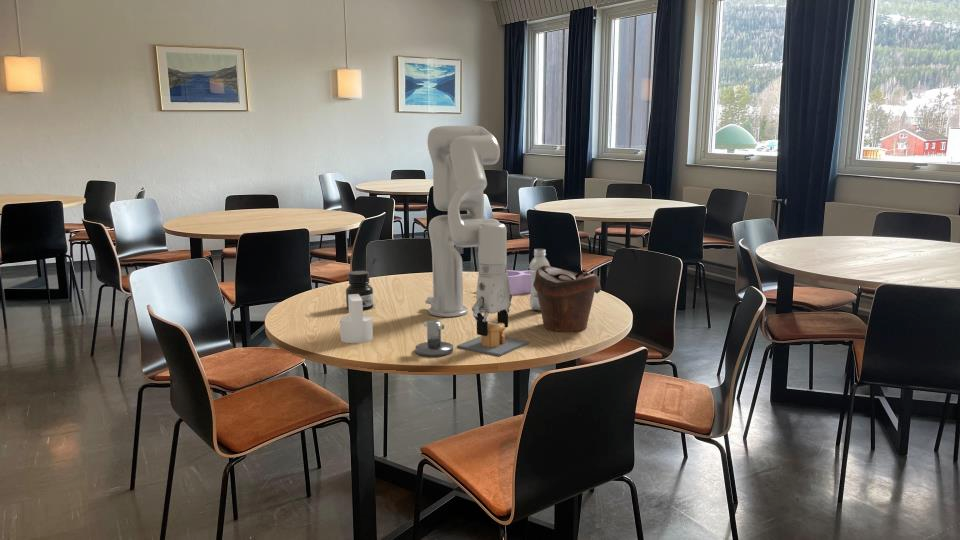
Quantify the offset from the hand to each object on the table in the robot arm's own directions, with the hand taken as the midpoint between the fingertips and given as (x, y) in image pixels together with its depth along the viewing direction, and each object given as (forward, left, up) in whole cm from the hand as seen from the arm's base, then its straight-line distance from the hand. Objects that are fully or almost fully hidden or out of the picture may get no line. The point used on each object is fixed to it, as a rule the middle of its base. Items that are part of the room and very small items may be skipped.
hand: (492, 330), depth 192 cm
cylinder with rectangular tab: (-36, -16, -4) cm, 39 cm away
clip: (-32, +60, -4) cm, 69 cm away
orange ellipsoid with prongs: (0, 0, -3) cm, 3 cm away
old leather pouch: (+7, +28, -4) cm, 29 cm away
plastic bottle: (-10, +41, -4) cm, 42 cm away
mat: (0, 0, -4) cm, 4 cm away
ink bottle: (-62, +11, -4) cm, 63 cm away
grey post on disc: (-10, -13, -4) cm, 17 cm away
